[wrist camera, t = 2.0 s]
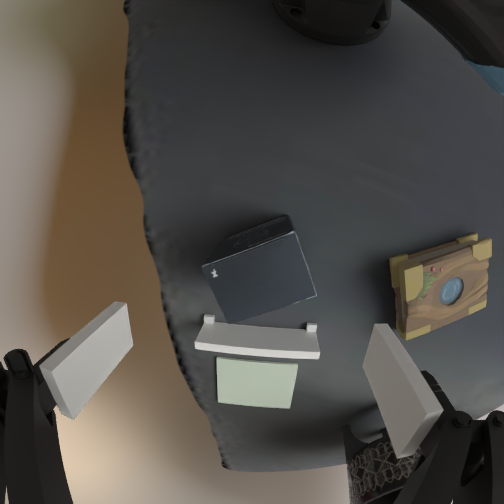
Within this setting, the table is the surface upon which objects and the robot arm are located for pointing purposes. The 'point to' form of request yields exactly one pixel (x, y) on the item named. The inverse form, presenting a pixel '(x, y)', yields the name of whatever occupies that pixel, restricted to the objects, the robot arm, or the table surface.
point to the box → (259, 270)
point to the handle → (258, 340)
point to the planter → (375, 469)
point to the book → (440, 284)
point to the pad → (255, 382)
